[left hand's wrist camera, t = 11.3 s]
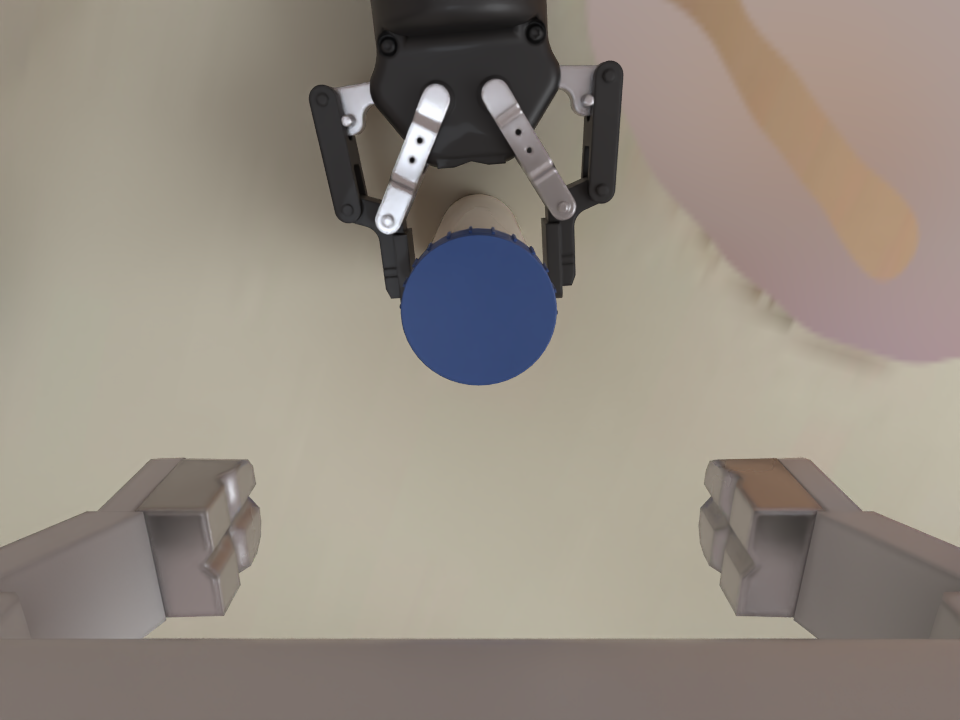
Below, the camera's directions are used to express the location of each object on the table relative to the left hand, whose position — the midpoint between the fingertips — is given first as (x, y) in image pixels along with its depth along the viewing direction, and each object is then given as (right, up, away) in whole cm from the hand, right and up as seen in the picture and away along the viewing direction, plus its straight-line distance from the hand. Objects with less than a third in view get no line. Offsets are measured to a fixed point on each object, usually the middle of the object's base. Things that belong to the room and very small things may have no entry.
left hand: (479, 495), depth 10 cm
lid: (0, +4, +11) cm, 11 cm away
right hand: (0, +5, +21) cm, 22 cm away
